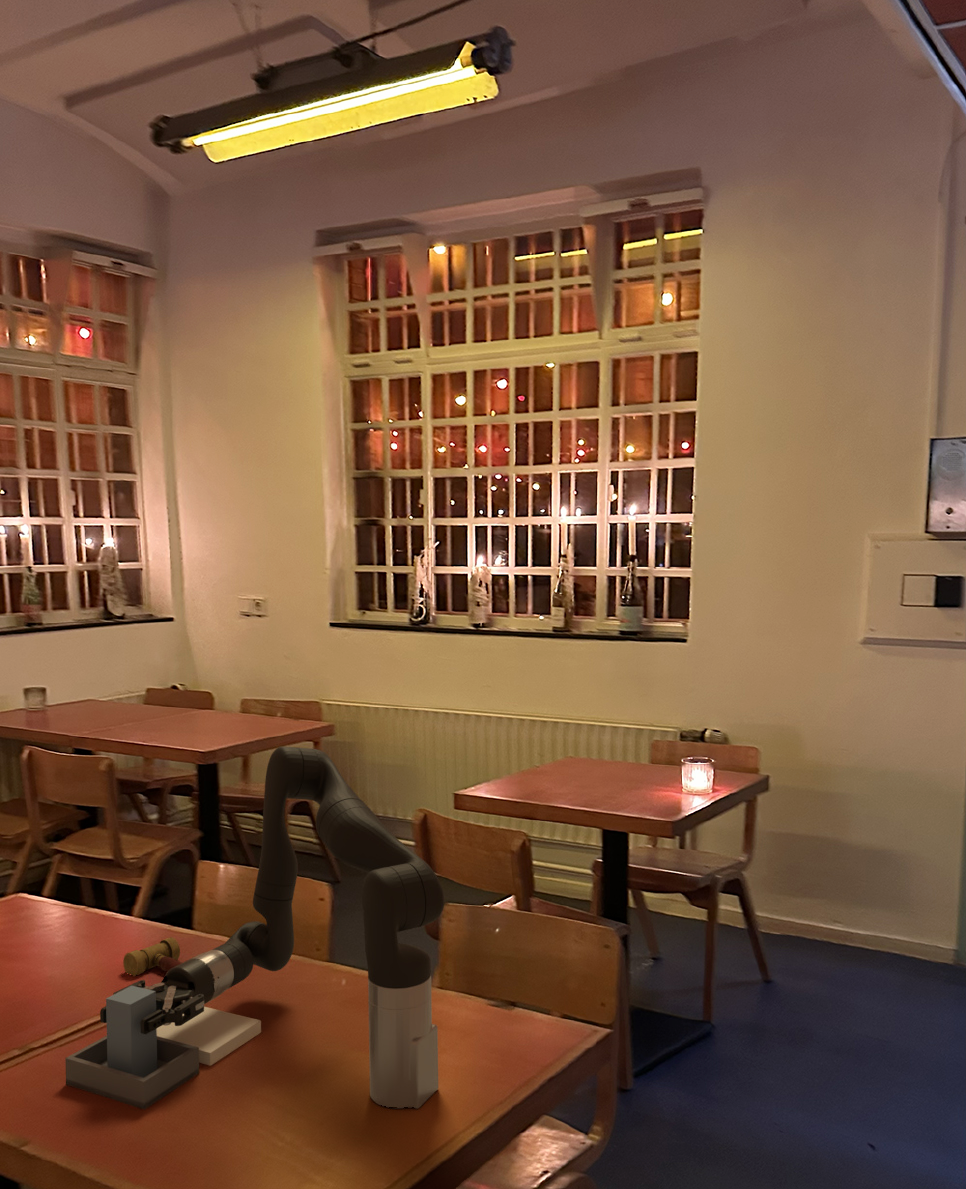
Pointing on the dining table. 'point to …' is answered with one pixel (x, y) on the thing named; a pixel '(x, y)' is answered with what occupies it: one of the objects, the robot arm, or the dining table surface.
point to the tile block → (131, 1031)
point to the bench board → (213, 1033)
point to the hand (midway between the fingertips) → (121, 1022)
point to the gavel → (153, 957)
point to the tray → (98, 1078)
